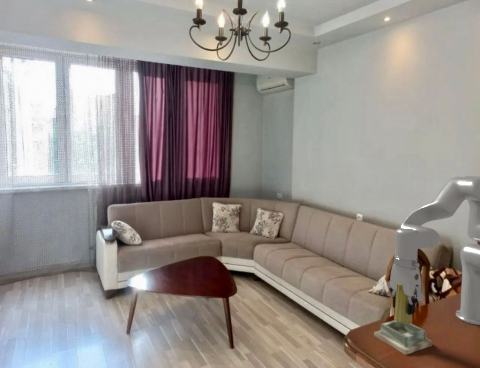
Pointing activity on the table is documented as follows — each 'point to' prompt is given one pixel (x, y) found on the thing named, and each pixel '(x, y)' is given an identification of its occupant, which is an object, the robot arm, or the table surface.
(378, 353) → the table surface
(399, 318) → the vase
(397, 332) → the vase stand
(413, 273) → the robot arm
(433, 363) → the table surface
